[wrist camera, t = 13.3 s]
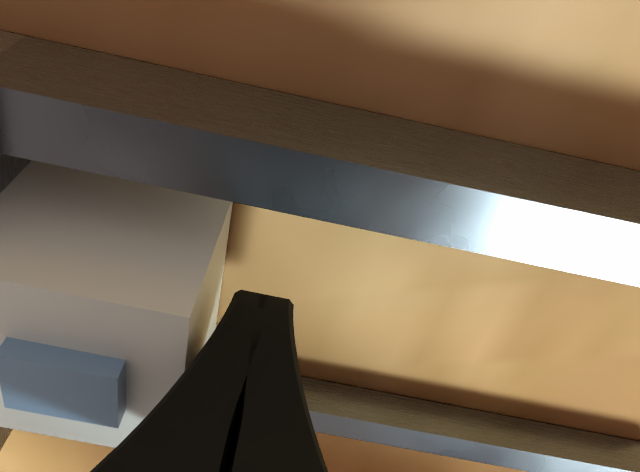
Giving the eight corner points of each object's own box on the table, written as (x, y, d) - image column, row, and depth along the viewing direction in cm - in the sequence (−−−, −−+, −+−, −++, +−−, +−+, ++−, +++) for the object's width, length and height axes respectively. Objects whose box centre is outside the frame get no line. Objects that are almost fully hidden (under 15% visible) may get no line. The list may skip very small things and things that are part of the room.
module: (215, 327, 15) (170, 477, 11) (52, 295, 14) (-41, 439, 11) (233, 194, 12) (183, 336, 9) (38, 153, 12) (-86, 284, 9)
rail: (635, 460, 16) (680, 574, 14) (3, 340, 15) (-65, 440, 13) (860, 219, 11) (989, 333, 9) (-55, 17, 10) (-184, 84, 8)
